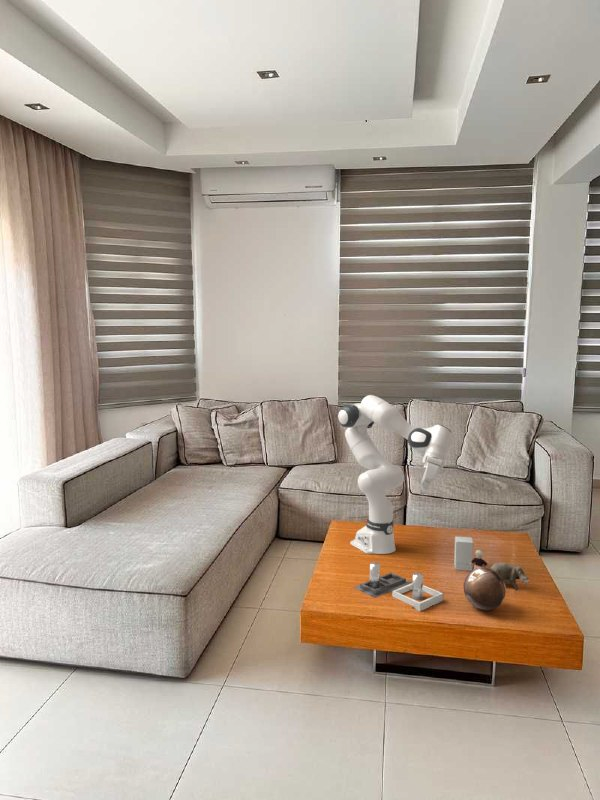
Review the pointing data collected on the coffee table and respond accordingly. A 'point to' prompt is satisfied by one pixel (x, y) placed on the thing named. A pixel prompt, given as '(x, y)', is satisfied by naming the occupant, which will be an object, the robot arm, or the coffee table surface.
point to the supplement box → (463, 553)
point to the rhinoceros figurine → (510, 573)
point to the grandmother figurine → (479, 560)
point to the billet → (417, 586)
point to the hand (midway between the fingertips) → (422, 493)
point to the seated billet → (374, 575)
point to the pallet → (383, 585)
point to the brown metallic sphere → (484, 588)
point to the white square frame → (417, 605)
